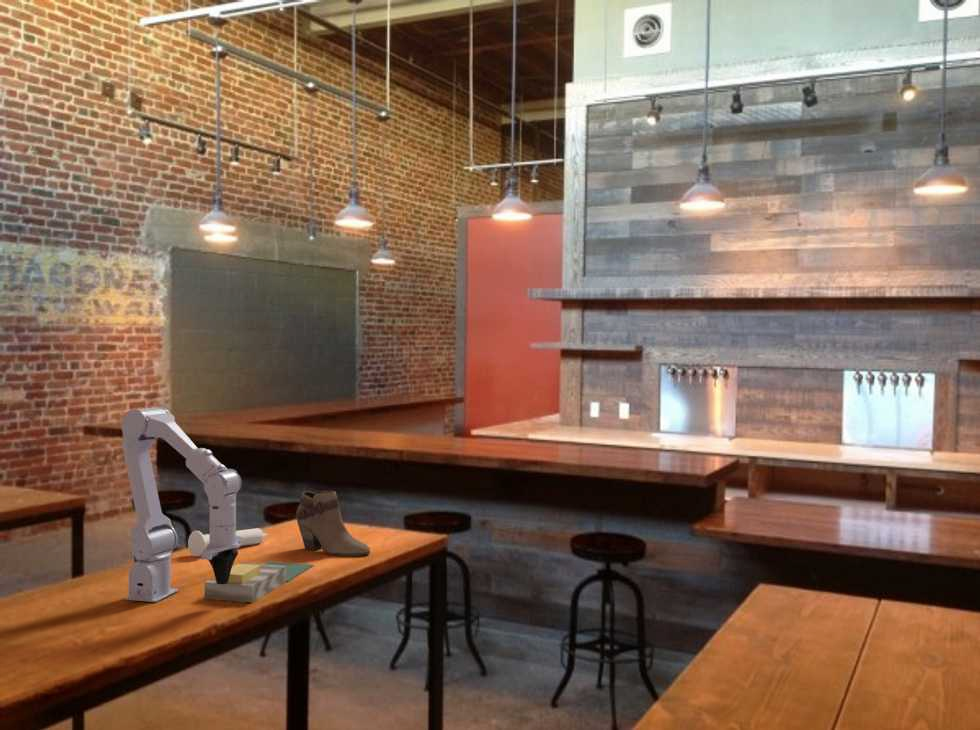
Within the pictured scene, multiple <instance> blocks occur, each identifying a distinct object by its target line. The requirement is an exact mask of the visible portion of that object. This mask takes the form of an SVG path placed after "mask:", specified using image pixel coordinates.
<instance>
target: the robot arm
mask: <svg viewBox="0 0 980 730" xmlns="http://www.w3.org/2000/svg"><path fill="white" fill-rule="evenodd" d="M120 427H121V431H122V452H123V457H124V461H125V465H126V471H127V476H128V480H129V485H130V490H131V494H132V500H133V504H134V510H135V513H136V515H135V516H136V521H135V522H134V524H133V525H132V526H131V528H130V529H129V531H130V542H129V543H130V544H129V549H130V551H131V553H132V555H133V556H134V557H135V561H136V563H135V564H134V565H133V566H132V567H131V568H130V569H129V573H128V596H126V597H125V598H124V599H125V601H137V602H146V603H147V602H150V603H157V602H159V601H160V600H161V601H162V600H163V599H165V598H166V597H169V596H171V595H173V594H175V593H177V592H178V591H179V589H178V588H171V556H172V555H173V550H175V548H176V547H177V545H178V542H179V541H178V540H179V537H178V533H177V531H176V530H175V528H174V527H173V524H172V520H171V519H170V518H169V517H168V516H167V515H165V514H163V511H162V507H161V503H160V497H159V493H158V488H157V483H156V479H155V475H154V470H153V469H154V468H153V463H152V459H151V455H150V448H151V446H152V445H153V443H154V442H155V441H156V440H157V439H159V438H160V439H163V440H164V441H165V442H166V443H167V444H169V446H171V447H172V448H173V449H175V450H176V452H177V453H179V454H180V455H181V456H183V457H184V458H185V466H186V468H187V469H189V470H190V472H192V474H194V476H196V478H197V479H198V480H200V481H201V482H202V483H203V490H204V492H205V494H206V496H207V498H208V499H207V503H208V504H209V534H210V535H209V544H208V545H207V547H206V548H205V549H204V550H202V555H201V560H207V561H208V562H209V563H210V565H211V567H212V570H213V574H214V577H215V579H216V582H217V584H223V585H225V584H227V583H228V580H229V576H230V572H231V568H232V566H234V563H235V560H236V558H237V556H238V555H239V551H238V550H237V549H238V548H240V547H241V546H240V545H242V537H240V536H236V531H237V527H236V526H237V524H236V523H237V493H238V492H239V491H240V490H241V488H242V478H241V475H240V474H239V473H238V471H237V470H235V469H233V468H227V467H226V466H225V465H224V464H222V463H221V462H220V461H219V460H218V459H217V458H216V457H215V456H214V455H213V452H212V451H211V450H210V449H207V448H204V447H200V448H199V447H197V446H196V445H195V443H194V442H193V441H192V440H191V438H190V437H189V436H188V435H187V434H186V433H185V432H184V430H183V429H181V427H180V426H179V425H178V424H177V423H176V421H175V415H174V414H172V413H171V412H170V411H169V410H168V409H167V408H166V407H164V406H162V405H161V406H155V407H147V408H145V407H144V408H131V409H129V410H128V411H126V412H125V414H124V415H123V417H122V419H121V420H120ZM152 528H153V529H152ZM234 549H236V550H234Z"/></svg>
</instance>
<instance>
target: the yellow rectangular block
mask: <svg viewBox="0 0 980 730" xmlns="http://www.w3.org/2000/svg"><path fill="white" fill-rule="evenodd" d="M259 574H260V565H249V564H240V563H236V564H233V565H232V568H231V572H230V576H229V580H228V583H239V584H243V583H245V582H247V581H248V580H250V579H252V578H253V577H255V576H257V575H259Z"/></svg>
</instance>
